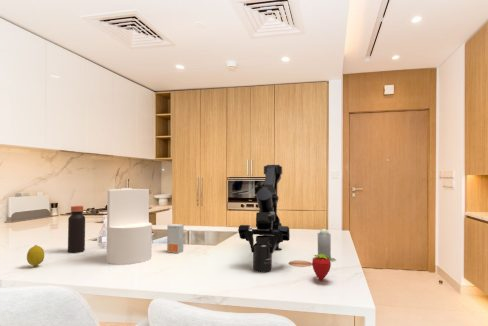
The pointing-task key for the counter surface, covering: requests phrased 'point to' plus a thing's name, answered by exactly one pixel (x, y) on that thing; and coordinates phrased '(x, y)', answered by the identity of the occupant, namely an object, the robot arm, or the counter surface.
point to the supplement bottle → (262, 254)
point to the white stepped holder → (128, 226)
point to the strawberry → (321, 266)
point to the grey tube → (324, 243)
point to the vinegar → (76, 230)
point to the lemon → (35, 255)
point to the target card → (304, 263)
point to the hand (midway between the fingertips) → (261, 252)
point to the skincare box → (175, 238)
